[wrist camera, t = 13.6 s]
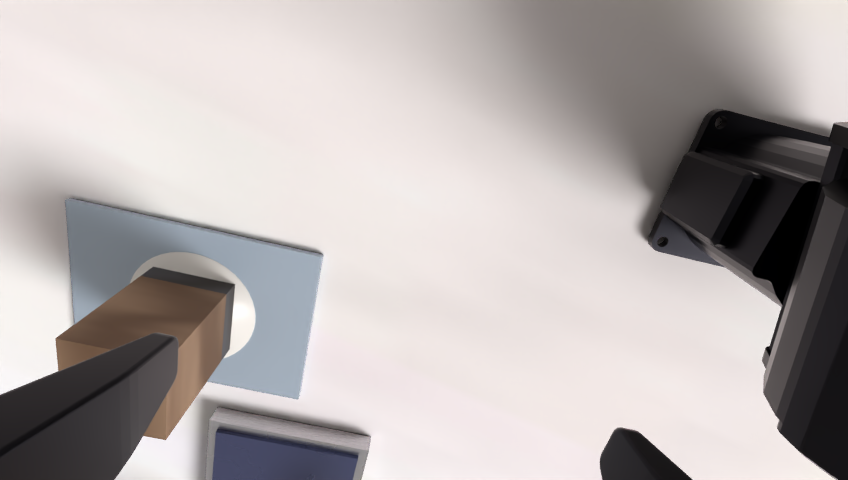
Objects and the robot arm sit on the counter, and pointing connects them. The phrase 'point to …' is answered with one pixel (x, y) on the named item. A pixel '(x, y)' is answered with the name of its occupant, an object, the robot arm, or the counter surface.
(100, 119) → the counter surface
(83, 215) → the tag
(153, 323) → the stamp
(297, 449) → the tray
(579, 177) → the counter surface
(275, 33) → the counter surface
